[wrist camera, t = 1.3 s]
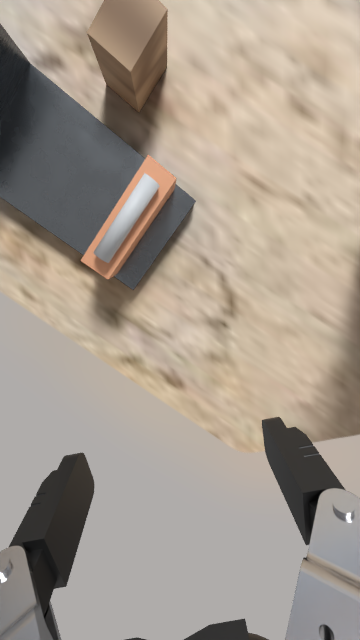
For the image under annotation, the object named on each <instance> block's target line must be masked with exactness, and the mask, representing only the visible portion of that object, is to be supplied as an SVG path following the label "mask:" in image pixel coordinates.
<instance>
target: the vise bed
mask: <svg viewBox="0 0 360 640" xmlns="http://www.w3.org/2000/svg"><path fill="white" fill-rule="evenodd" d="M144 160H145V158H144V157H142V156H141V155H140V154H139V153H138V152H136V151H135V150H134V149H133V148H132V147H130V146H129V145H128V144H127V143H126V142H124V141H123V140H122V139H121V138H120V137H118V136H117V135H116V134H115V133H113V132H112V131H111V130H110V129H109V128H107V127H106V126H105V125H104V124H103V123H101V122H100V121H99V120H98V119H97V118H95V117H94V116H93V115H92V114H91V113H89V112H88V111H87V110H86V109H85V108H83V107H82V106H81V105H80V104H79V103H77V102H76V101H75V100H74V99H73V98H71V97H70V96H69V95H68V94H66V93H65V92H64V91H63V90H62V89H60V88H59V87H58V86H57V85H56V84H54V83H53V82H52V81H51V80H50V79H48V78H47V77H46V76H45V75H44V74H42V73H41V72H40V71H39V70H38V69H36V68H35V67H34V66H33V65H32V64H30V62H29V61H28V60H27V58H26V57H25V56H24V54H23V53H22V52H21V50H20V49H19V48H18V47H17V45H16V44H15V43H14V41H13V40H12V39H11V37H10V36H9V35H8V33H7V32H6V31H5V29H4V28H3V27H2V25H1V24H0V197H1V198H3V199H4V200H5V201H7V202H8V203H10V204H11V205H13V206H14V207H15V208H17V209H18V210H20V211H21V212H23V213H24V214H25V215H27V216H28V217H30V218H31V219H33V220H34V221H35V222H37V223H38V224H40V225H41V226H43V227H44V228H45V229H47V230H48V231H50V232H51V233H53V234H54V235H55V236H57V237H58V238H60V239H61V240H63V241H64V242H65V243H67V244H68V245H70V246H71V247H73V248H74V249H75V250H77V251H78V252H80V253H81V254H83V255H84V254H85V253H86V251H87V250H88V248H89V246H90V245H91V243H92V242H93V240H94V239H95V237H96V235H97V234H98V232H99V231H100V229H101V228H102V226H103V224H104V223H105V221H106V220H107V218H108V217H109V215H110V214H111V212H112V210H113V209H114V207H115V206H116V204H117V203H118V201H119V199H120V198H121V196H122V195H123V193H124V192H125V190H126V188H127V187H128V185H129V184H130V182H131V181H132V179H133V178H134V176H135V174H136V173H137V171H138V170H139V168H140V167H141V165H142V163H143V162H144ZM195 202H196V201H195V200H194V199H193V198H192V197H191V196H189V195H188V194H187V193H186V192H185V191H183V190H182V189H181V188H180V187H179V186H177V185H176V184H175V189H174V191H173V192H172V194H171V195H170V197H169V198H168V200H167V201H166V203H165V204H164V206H163V207H162V209H161V210H160V211H159V213H158V214H157V216H156V217H155V219H154V220H153V222H152V223H151V225H150V226H149V228H148V229H147V231H146V232H145V234H144V235H143V237H142V238H141V239H140V241H139V242H138V244H137V245H136V247H135V248H134V250H133V251H132V253H131V254H130V256H129V257H128V259H127V260H126V262H125V263H124V265H123V266H122V267H121V269H120V270H119V272H118V273H117V274H116V275H115V276H114V277H115V278H117V279H118V280H120V281H121V282H123V283H124V284H125V285H127V286H128V287H130V288H131V289H133V290H134V288H135V287H136V285H137V284H138V283H139V281H140V280H141V278H142V277H143V276H144V274H145V273H146V271H147V270H148V268H149V267H150V266H151V264H152V263H153V261H154V260H155V258H156V257H157V256H158V254H159V253H160V251H161V250H162V249H163V247H164V246H165V244H166V243H167V241H168V240H169V239H170V237H171V236H172V234H173V233H174V231H175V230H176V229H177V227H178V226H179V224H180V223H181V221H182V220H183V219H184V217H185V216H186V214H187V213H188V212H189V210H190V209H191V207H192V206H193V204H194V203H195Z"/></svg>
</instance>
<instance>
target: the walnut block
mask: <svg viewBox="0 0 360 640" xmlns="http://www.w3.org/2000/svg"><path fill="white" fill-rule="evenodd" d="M87 34H88V37H89V39H90V42H91V45H92V47H93V50H94V53H95V55H96V58H97V61H98V63H99V66H100V69H101V71H102V74H103V77H104V79H105V82H106V85H108V86H109V87H110V88H111V89H112V90H113V91H115V92H116V93H117V94H118V95H119V96H120V97H121V98H123V99H124V100H125V101H126V102H127V103H128V104H130V105H131V106H132V107H133V108H134V109H135V110H136V111H138V112H140V110H141V109H142V107H143V105H144V104H145V102H146V100H147V99H148V97H149V96H150V94H151V92H152V91H153V89H154V87H155V86H156V84H157V82H158V81H159V79H160V78H161V76H162V74H163V73H164V71H165V69H166V68H167V8H166V7H165V6H164V5H163V4H162V3H161V2H160V1H159V0H104V2H103V4H102V5H101V7H100V9H99V11H98V13H97V15H96V17H95V18H94V20H93V22H92V24H91V26H90V28H89V30H88V31H87Z"/></svg>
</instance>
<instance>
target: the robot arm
mask: <svg viewBox="0 0 360 640" xmlns="http://www.w3.org/2000/svg"><path fill="white" fill-rule="evenodd" d="M262 428H263V437H264V446H265V452H266V455H267V459H268V462H269V464H270V466H271V469H272V471H273V473H274V475H275V478H276V480H277V482H278V484H279V486H280V489H281V491H282V493H283V495H284V497H285V500H286V502H287V504H288V506H289V508H290V511H291V513H292V515H293V517H294V519H295V522H296V524H297V526H298V528H299V530H300V533H301V535H302V537H303V539H304V542H305V544H306V545H309V549H308V554H307V557H306V558H303V561H302V564H301V567H300V572H299V577H298V581H297V586H296V591H295V596H294V600H293V605H292V609H291V614H290V619H289V623H288V628H287V633H286V638H285V640H360V498H358V497H357V496H356V495H354V494H353V493H351V492H349V491H346V490H345V489H344V487H343V486H342V485H341V483H340V482H339V480H338V479H337V478H336V476H335V475H334V473H333V472H332V471H331V469H330V468H329V466H328V465H327V463H326V462H325V461H324V459H323V458H322V456H321V455H319V452H318V451H317V449H316V448H315V447H314V446H313V444H312V442H311V441H310V440H309V438H308V437H307V435H306V434H304V433H303V432H302V431H300V430H299V429H297V428H296V427H292V428H286V426H285V424H284V423H283V421H282V420H281V418H280V417H275V418H270V419H265V420H262ZM93 494H94V480H93V476H92V474H91V471H90V468H89V466H88V463H87V460H86V457H85V455H84V453H77V454H72V455H66V456H64V458H63V459H62V462H61V463H60V465H59V467H58V469H57V470H55V471H52V472H51V473H50V475H49V476H48V477H47V478H46V479H45V480H44V481H43V482H42V484H41V486H40V488H39V490H38V492H37V495H36V497H35V498H34V500H33V501H32V503H31V507H29V509H28V511H27V513H26V515H25V517H24V519H23V521H22V523H21V524H20V526H19V528H18V530H17V532H16V534H15V536H14V538H13V540H12V542H11V544H10V546H9V547H8V548H6V549H4V550H2V551H1V552H0V640H61V637H60V633H59V630H58V626H57V623H56V619H55V615H54V612H53V608H52V605H51V602H50V598H51V595H52V592H53V589H55V588H60V587H66V585H67V582H68V579H69V575H70V572H71V569H72V565H73V562H74V558H75V555H76V552H77V548H78V545H79V541H80V538H81V535H82V531H83V528H84V525H85V521H86V518H87V515H88V511H89V508H90V504H91V501H92V498H93ZM126 640H145V639H141V638H132V639H126ZM184 640H268V639H266V638H264V637H261V636H259V635H256V634H252V633H248V631H247V626H246V622H245V619H241V620H235V621H229V622H223V623H218V624H212V625H209V626H207V627H205V628H203V629H202V630H200V631H198V632H196V633H195V634H193V635H191V636H189V637H188V638H186V639H184Z"/></svg>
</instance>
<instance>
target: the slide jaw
mask: <svg viewBox="0 0 360 640" xmlns="http://www.w3.org/2000/svg"><path fill="white" fill-rule="evenodd" d="M175 184H176V177H174V176H173V175H172V174H171V173H170V172H168V171H167V170H166V169H165V168H164V167H162V166H161V165H160V164H159V163H158V162H156V161H155V160H154V159H153V158H152V157H150V156H149V155H148V156H147V157H146V159H145V160H144V162H143V163H142V165H141V167H140V168H139V170H138V171H137V173H136V174H135V176H134V178H133V179H132V181H131V182H130V184H129V185H128V187H127V188H126V190H125V192H124V193H123V195H122V196H121V198H120V199H119V201H118V203H117V204H116V206H115V207H114V209H113V210H112V212H111V214H110V215H109V217H108V218H107V220H106V221H105V223H104V224H103V226H102V228H101V229H100V231H99V232H98V234H97V235H96V237H95V239H94V240H93V242H92V243H91V245H90V246H89V248H88V250H87V251H86V253H85V254H84V256H83V257H82V259H81V260H80V261H82V262H83V263H85V264H86V265H87V266H89V267H90V268H92V269H93V270H95V271H96V272H98V273H99V274H100V275H102V276H103V277H105V278H106V279H110V278H111V277H113V276H115V275H116V274H117V273H118V272H119V270H120V269H121V267H122V266H123V265H124V263H125V262H126V260H127V259H128V257H129V256H130V254H131V253H132V251H133V250H134V248H135V247H136V245H137V244H138V242H139V241H140V239H141V238H142V237H143V235H144V234H145V232H146V231H147V229H148V228H149V226H150V225H151V223H152V222H153V220H154V219H155V217H156V216H157V214H158V213H159V211H160V210H161V209H162V207H163V206H164V204H165V203H166V201H167V200H168V198H169V197H170V195H171V194H172V192H173V191H174V189H175Z"/></svg>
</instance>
